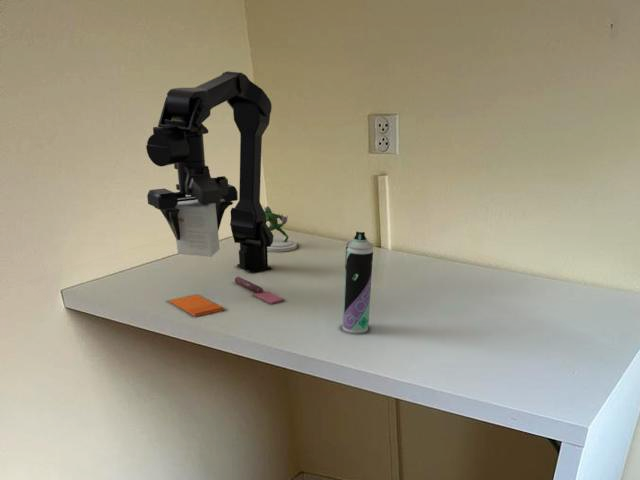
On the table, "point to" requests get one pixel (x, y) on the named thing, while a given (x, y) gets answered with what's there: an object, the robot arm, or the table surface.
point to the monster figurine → (280, 242)
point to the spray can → (357, 284)
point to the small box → (197, 229)
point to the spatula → (259, 291)
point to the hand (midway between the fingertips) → (197, 236)
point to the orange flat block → (196, 305)
